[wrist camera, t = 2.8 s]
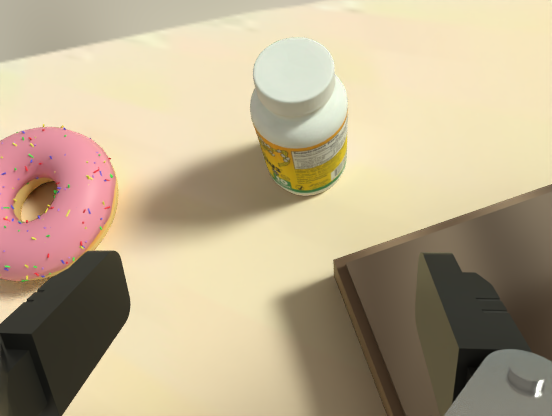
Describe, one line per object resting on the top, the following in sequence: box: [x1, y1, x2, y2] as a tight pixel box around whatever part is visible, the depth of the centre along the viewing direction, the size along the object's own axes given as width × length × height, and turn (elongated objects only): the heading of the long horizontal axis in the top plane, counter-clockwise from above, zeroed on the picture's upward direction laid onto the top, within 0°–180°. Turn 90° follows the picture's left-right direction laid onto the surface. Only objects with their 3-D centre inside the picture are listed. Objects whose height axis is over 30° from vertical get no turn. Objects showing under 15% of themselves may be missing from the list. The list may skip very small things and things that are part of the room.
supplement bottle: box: [250, 37, 348, 196], centre depth 26 cm, size 5×5×10 cm
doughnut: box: [0, 124, 118, 282], centre depth 30 cm, size 11×11×4 cm
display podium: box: [333, 184, 552, 416], centre depth 22 cm, size 14×14×4 cm
